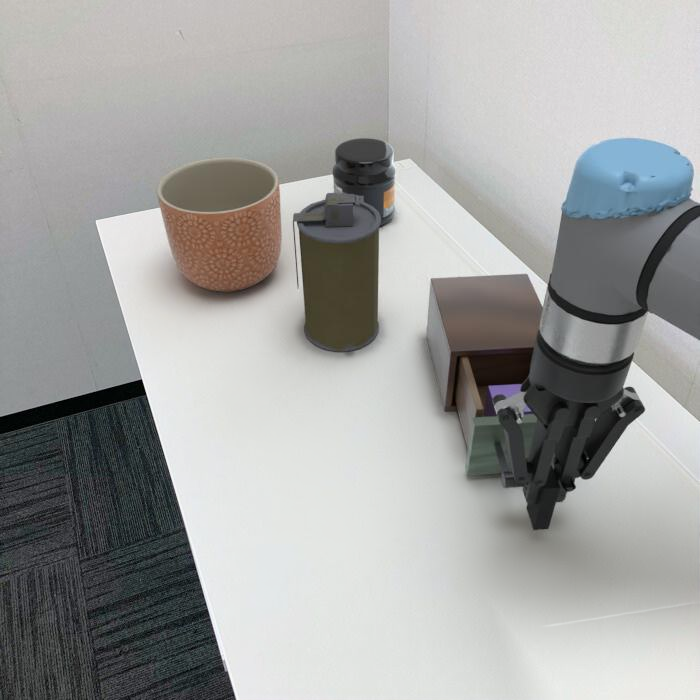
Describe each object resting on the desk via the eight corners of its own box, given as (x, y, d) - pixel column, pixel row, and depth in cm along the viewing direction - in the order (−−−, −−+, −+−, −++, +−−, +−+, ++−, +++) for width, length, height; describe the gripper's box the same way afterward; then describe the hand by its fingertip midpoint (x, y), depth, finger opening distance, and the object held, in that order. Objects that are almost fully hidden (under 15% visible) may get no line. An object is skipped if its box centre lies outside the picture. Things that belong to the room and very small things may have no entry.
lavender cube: (530, 438, 79) (536, 410, 77) (492, 440, 79) (496, 413, 76) (520, 410, 83) (526, 383, 80) (483, 412, 83) (488, 385, 80)
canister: (376, 304, 102) (378, 177, 89) (381, 351, 94) (384, 219, 82) (301, 307, 102) (292, 180, 89) (300, 353, 94) (290, 221, 81)
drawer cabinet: (546, 405, 86) (560, 345, 80) (444, 411, 86) (450, 351, 79) (516, 331, 97) (527, 273, 91) (426, 336, 97) (430, 278, 91)
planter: (173, 311, 102) (153, 218, 92) (177, 249, 114) (159, 161, 105) (290, 299, 104) (283, 207, 94) (281, 239, 116) (274, 152, 106)
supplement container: (403, 207, 124) (406, 142, 116) (380, 236, 117) (381, 169, 109) (349, 196, 128) (348, 132, 120) (323, 223, 120) (320, 157, 113)
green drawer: (586, 510, 73) (603, 461, 68) (477, 517, 73) (486, 468, 68) (536, 385, 88) (547, 336, 83) (445, 390, 87) (451, 341, 82)
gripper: (648, 304, 59) (588, 484, 74) (493, 312, 58) (465, 492, 73) (687, 364, 53) (613, 546, 68) (516, 374, 52) (481, 555, 68)
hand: (537, 518), depth 71 cm, fingers closed
